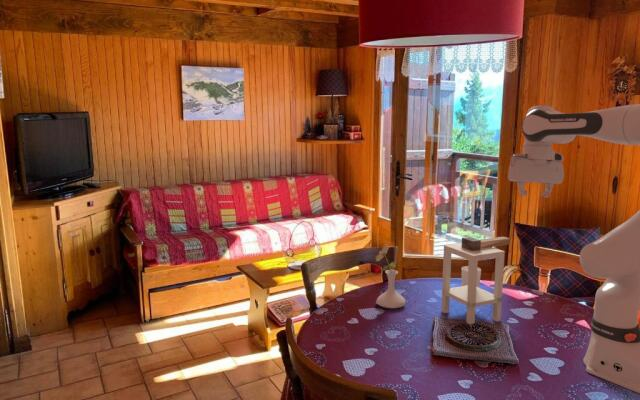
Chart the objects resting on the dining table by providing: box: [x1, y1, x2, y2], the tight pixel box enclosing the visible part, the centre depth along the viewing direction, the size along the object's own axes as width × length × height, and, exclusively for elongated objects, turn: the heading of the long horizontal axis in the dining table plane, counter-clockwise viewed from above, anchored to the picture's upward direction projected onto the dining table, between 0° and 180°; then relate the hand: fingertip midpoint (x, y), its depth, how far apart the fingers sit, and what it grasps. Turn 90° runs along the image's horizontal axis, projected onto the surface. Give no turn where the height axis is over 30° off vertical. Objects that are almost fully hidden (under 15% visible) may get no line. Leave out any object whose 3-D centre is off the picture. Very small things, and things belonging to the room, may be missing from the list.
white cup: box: [461, 265, 482, 288], centre depth 209 cm, size 8×8×10 cm
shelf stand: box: [441, 242, 506, 324], centre depth 182 cm, size 16×14×26 cm
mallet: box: [461, 236, 511, 251], centre depth 182 cm, size 6×18×4 cm, turn 114°
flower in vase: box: [375, 244, 407, 309], centre depth 192 cm, size 13×11×25 cm
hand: (534, 196), depth 167 cm, fingers open, 8 cm apart
